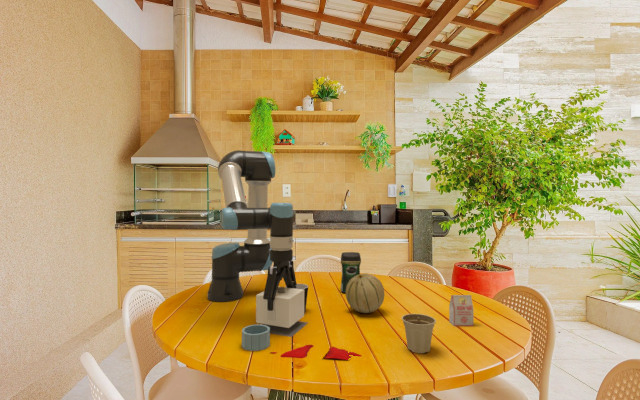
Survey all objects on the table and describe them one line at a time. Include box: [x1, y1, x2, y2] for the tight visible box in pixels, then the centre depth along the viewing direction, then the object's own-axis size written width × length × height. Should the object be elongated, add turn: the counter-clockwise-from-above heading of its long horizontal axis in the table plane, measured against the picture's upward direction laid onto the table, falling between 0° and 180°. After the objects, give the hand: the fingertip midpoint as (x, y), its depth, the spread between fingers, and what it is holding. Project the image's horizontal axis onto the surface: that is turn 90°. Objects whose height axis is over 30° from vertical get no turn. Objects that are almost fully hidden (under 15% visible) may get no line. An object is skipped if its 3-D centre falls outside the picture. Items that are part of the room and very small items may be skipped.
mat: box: [260, 320, 308, 338], centre depth 112 cm, size 14×13×1 cm
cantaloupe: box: [345, 273, 385, 314], centre depth 128 cm, size 15×15×15 cm
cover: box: [255, 286, 305, 328], centre depth 112 cm, size 12×12×10 cm
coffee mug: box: [285, 283, 309, 314], centre depth 129 cm, size 12×9×10 cm
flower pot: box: [401, 313, 437, 354], centre depth 96 cm, size 9×9×9 cm
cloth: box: [269, 344, 362, 361], centre depth 93 cm, size 26×14×2 cm, turn 78°
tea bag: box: [448, 294, 474, 327], centre depth 116 cm, size 4×7×10 cm, turn 91°
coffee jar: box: [340, 251, 362, 294], centre depth 157 cm, size 10×8×19 cm
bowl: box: [241, 323, 271, 352], centre depth 97 cm, size 8×8×5 cm
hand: (280, 313), depth 112 cm, fingers closed on cover, 12 cm apart
